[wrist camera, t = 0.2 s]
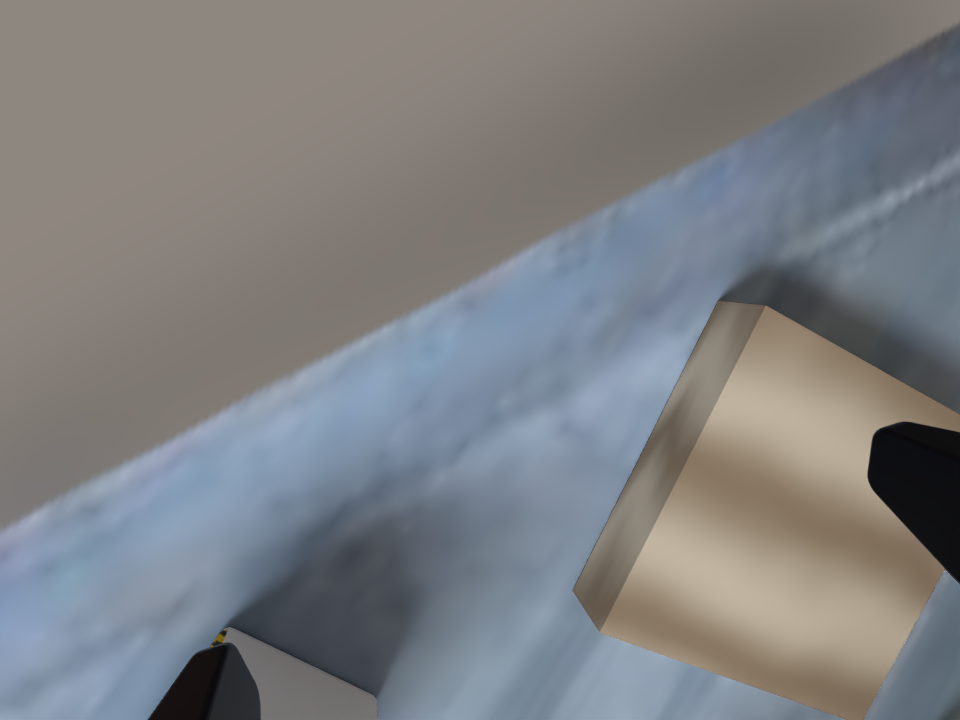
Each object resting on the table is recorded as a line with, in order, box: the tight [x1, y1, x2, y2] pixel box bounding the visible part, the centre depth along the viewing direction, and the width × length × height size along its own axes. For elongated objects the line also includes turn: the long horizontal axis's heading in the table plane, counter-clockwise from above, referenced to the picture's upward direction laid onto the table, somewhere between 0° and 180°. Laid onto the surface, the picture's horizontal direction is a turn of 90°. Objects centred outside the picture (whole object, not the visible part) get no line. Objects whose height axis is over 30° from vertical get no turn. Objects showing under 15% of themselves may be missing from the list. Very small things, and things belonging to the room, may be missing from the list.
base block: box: [573, 301, 960, 720], centre depth 25 cm, size 14×14×3 cm
